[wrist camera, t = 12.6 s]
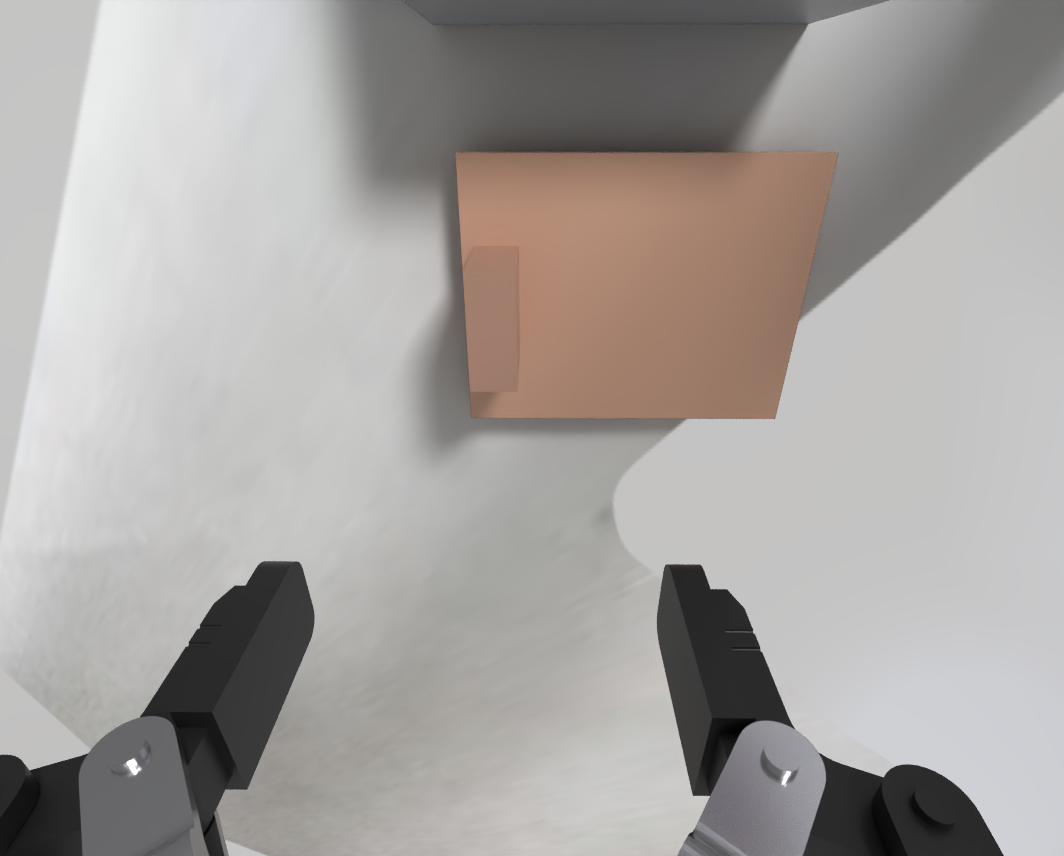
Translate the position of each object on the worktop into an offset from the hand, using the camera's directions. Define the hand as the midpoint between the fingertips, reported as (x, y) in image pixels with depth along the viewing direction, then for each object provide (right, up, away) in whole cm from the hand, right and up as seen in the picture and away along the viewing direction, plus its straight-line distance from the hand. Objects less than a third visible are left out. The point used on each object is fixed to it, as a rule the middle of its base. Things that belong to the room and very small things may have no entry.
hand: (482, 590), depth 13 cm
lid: (+7, +12, +21) cm, 25 cm away
